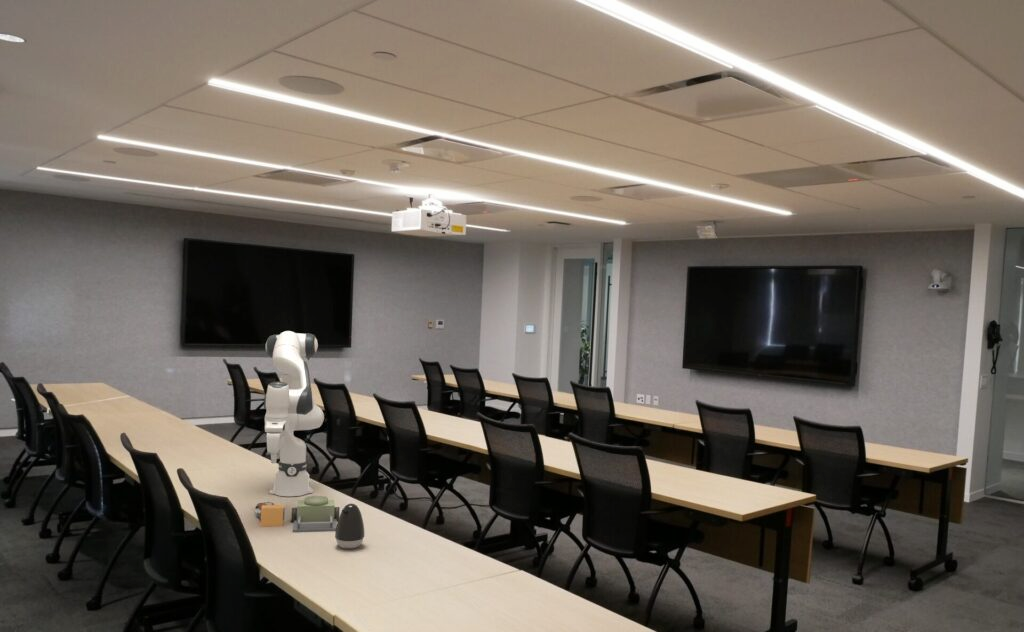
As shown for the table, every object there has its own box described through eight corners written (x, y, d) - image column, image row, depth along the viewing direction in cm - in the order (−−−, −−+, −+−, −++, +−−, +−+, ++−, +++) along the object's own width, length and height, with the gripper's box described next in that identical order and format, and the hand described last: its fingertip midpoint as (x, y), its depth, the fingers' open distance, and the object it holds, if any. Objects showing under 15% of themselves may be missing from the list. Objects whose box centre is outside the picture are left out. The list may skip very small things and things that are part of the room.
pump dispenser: (328, 548, 252) (330, 505, 252) (344, 540, 262) (346, 498, 262) (353, 553, 249) (355, 509, 249) (369, 544, 259) (371, 502, 258)
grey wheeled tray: (292, 517, 286) (293, 496, 286) (338, 516, 291) (339, 495, 291) (289, 532, 268) (290, 509, 268) (339, 530, 273) (340, 508, 272)
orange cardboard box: (261, 523, 278) (262, 505, 278) (284, 522, 280) (284, 504, 280) (260, 526, 273) (261, 508, 273) (283, 526, 275) (284, 507, 275)
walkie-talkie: (250, 510, 295) (259, 524, 278) (250, 499, 295) (260, 512, 278) (272, 508, 299) (283, 521, 282) (272, 497, 299) (283, 510, 282)
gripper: (272, 421, 287) (270, 455, 287) (264, 428, 267) (262, 465, 267) (288, 421, 288) (287, 455, 288) (282, 428, 268) (280, 465, 268)
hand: (275, 460), depth 277 cm, fingers open, 8 cm apart
